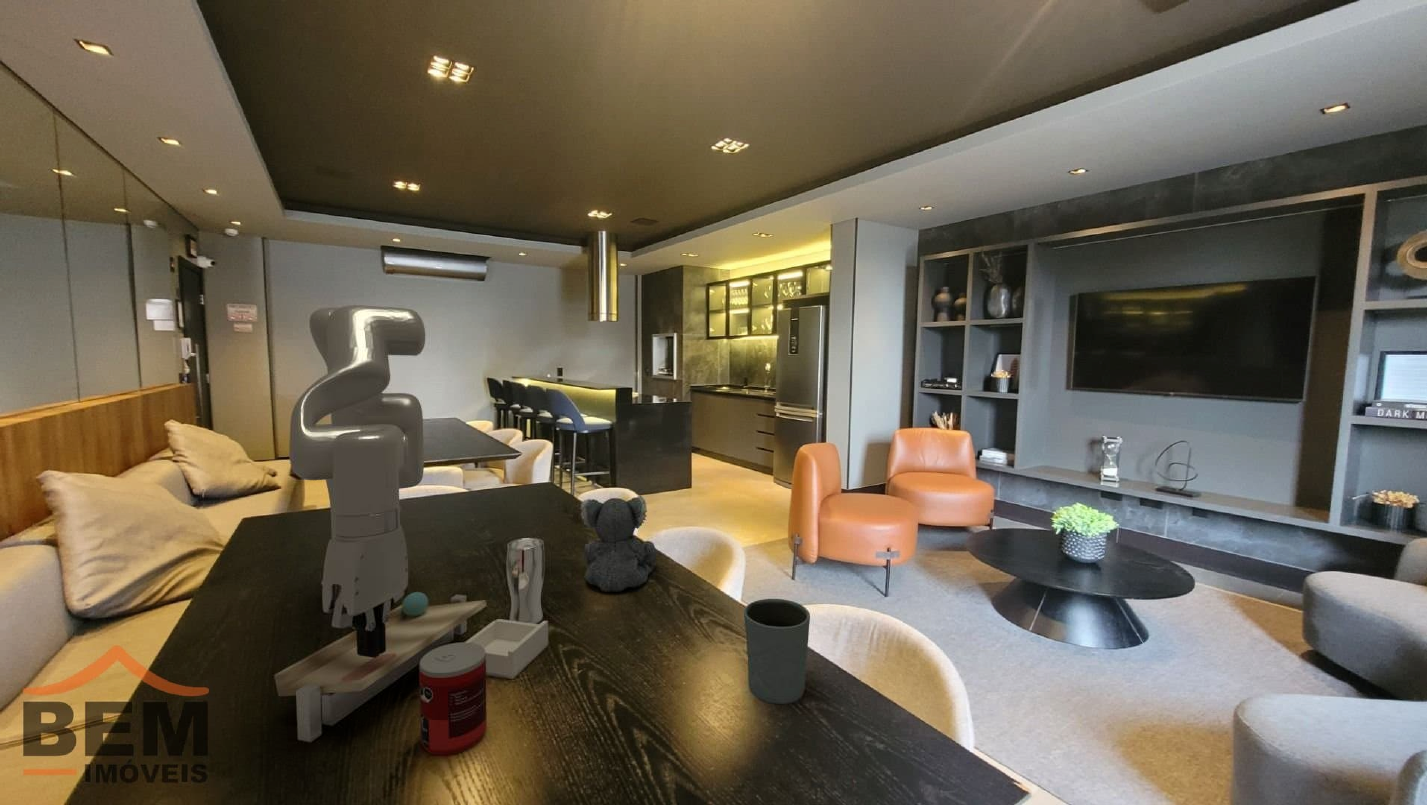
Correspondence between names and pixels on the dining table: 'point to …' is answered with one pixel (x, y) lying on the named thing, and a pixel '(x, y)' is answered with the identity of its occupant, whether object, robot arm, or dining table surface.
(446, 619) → the lever
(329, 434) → the robot arm
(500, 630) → the white open box
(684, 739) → the dining table surface
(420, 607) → the ball
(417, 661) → the lever stand
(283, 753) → the dining table surface
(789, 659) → the dark green cup
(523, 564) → the beer glass
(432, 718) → the canned food
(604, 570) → the koala plush
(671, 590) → the dining table surface
